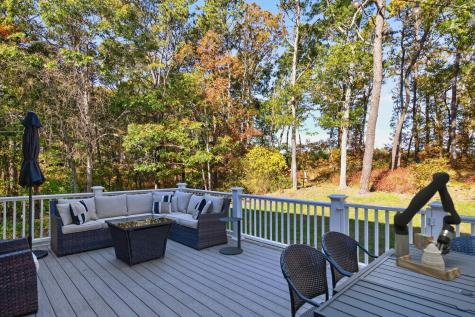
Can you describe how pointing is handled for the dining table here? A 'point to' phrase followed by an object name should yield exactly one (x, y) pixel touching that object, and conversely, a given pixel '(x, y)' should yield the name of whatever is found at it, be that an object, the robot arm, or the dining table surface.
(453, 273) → the oak bay
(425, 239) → the stack of blocks
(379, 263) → the dining table surface
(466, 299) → the dining table surface
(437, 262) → the honey pot
